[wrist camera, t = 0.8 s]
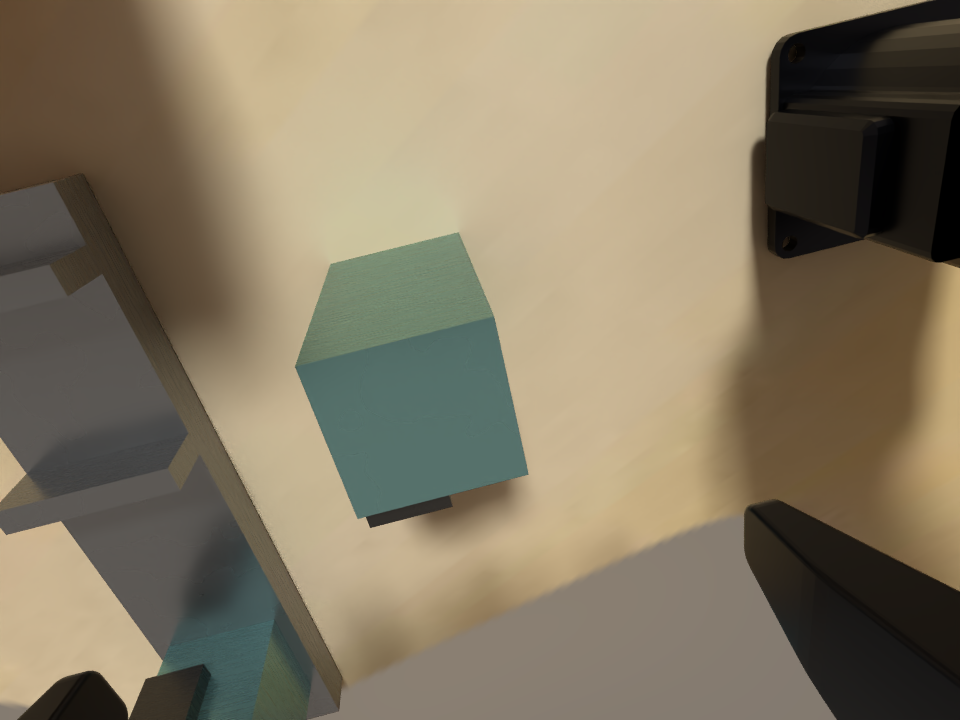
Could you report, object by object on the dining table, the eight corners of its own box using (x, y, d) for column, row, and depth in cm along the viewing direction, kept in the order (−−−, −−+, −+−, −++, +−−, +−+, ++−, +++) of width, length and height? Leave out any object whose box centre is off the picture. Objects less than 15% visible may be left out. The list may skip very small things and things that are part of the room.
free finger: (458, 232, 17) (494, 316, 11) (489, 362, 20) (532, 494, 13) (330, 264, 17) (294, 366, 11) (374, 391, 19) (365, 537, 13)
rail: (82, 173, 15) (-220, 262, 8) (342, 677, 25) (319, 931, 18) (-103, 217, 15) (-590, 351, 8) (231, 707, 25) (160, 975, 18)
